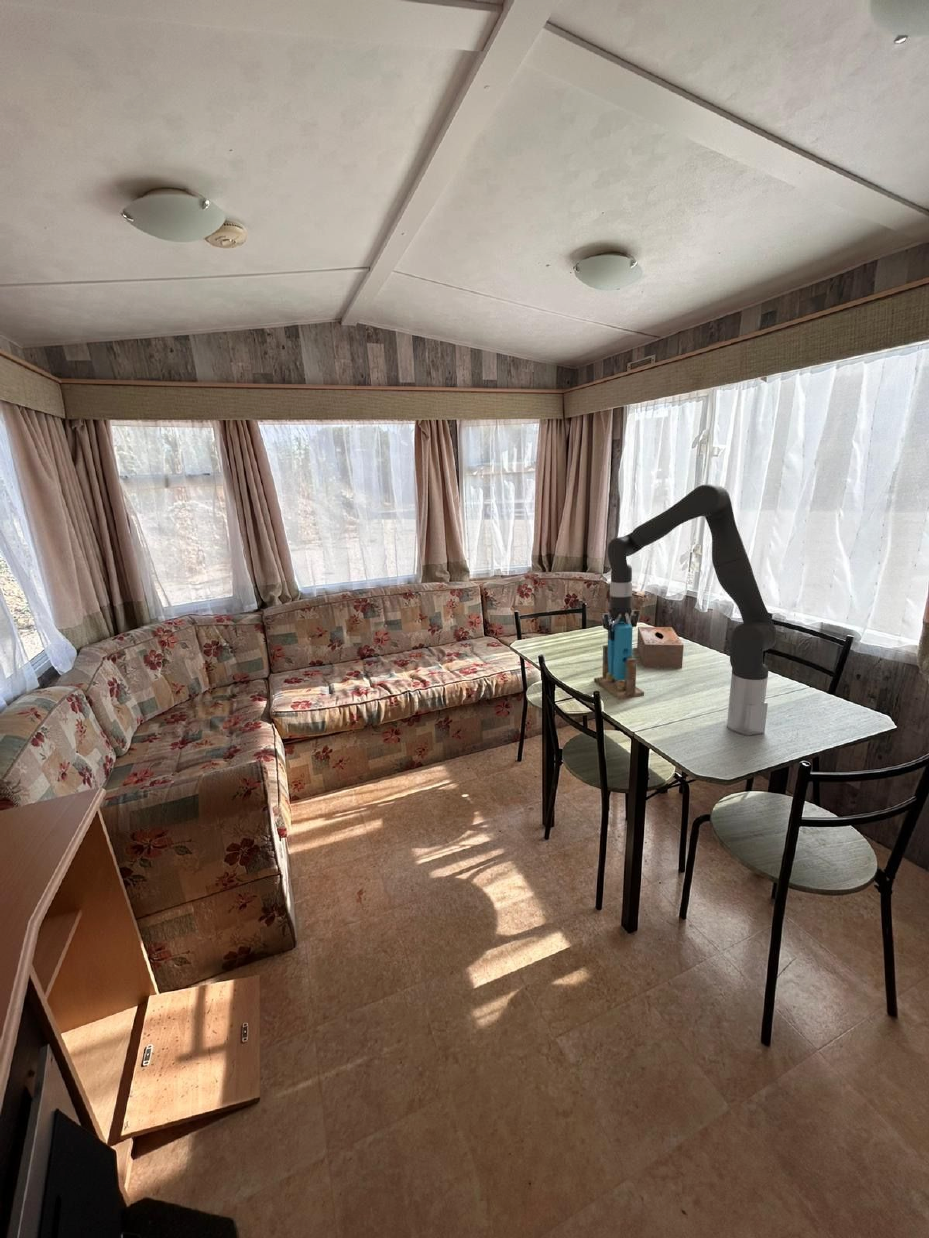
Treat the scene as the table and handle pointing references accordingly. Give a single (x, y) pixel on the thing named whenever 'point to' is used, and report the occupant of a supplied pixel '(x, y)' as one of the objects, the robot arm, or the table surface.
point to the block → (620, 650)
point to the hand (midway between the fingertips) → (619, 639)
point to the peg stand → (619, 686)
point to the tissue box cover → (660, 647)
